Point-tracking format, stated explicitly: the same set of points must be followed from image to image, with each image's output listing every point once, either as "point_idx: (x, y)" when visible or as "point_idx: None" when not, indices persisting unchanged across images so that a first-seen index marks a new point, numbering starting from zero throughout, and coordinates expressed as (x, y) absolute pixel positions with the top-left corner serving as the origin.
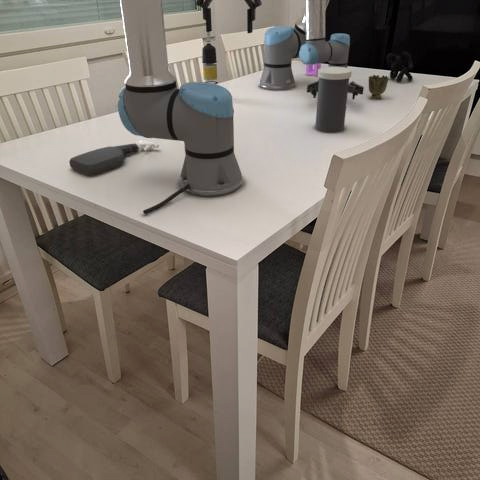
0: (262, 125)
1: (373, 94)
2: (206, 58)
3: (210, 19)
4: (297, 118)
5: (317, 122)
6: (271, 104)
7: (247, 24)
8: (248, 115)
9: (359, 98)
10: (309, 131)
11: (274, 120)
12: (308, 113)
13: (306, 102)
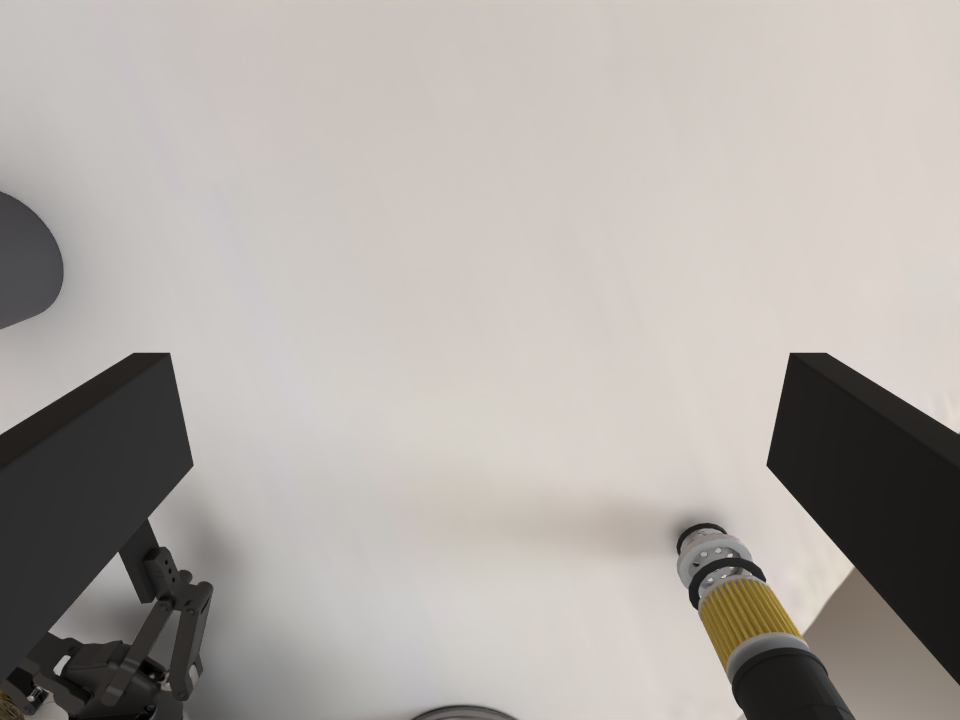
0: (306, 205)
1: (8, 701)
2: (804, 676)
3: (869, 539)
4: (196, 357)
5: (7, 218)
6: (392, 523)
7: (93, 404)
8: (433, 339)
9: None
10: (56, 179)
11: (283, 298)
12: None
13: (256, 584)
